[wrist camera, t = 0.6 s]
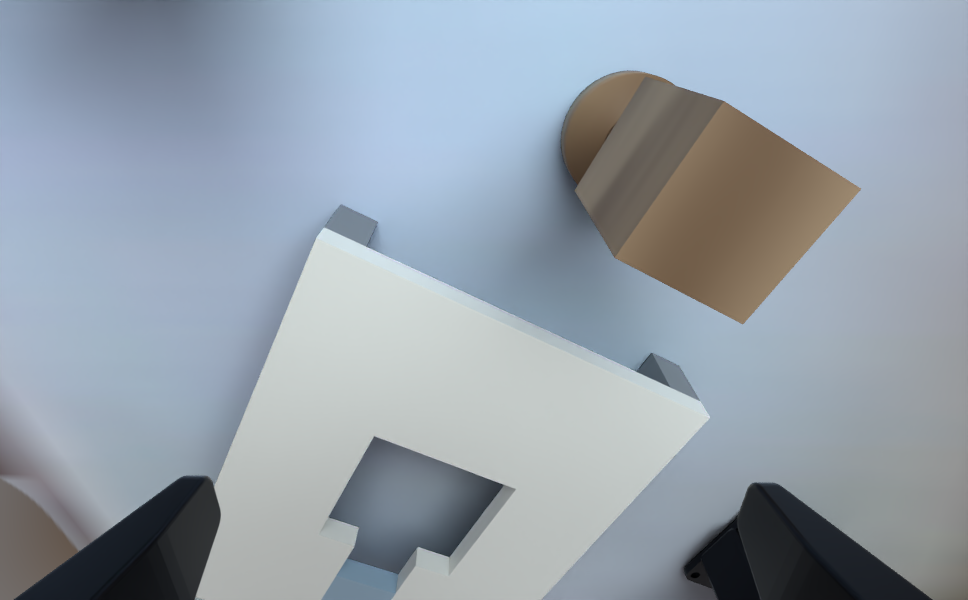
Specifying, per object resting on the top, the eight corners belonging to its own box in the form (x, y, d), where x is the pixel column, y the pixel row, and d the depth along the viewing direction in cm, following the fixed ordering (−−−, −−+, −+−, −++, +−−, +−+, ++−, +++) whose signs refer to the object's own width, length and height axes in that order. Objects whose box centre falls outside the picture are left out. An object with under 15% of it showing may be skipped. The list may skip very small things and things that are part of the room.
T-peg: (709, 110, 18) (895, 179, 10) (636, 216, 20) (745, 347, 12) (606, 45, 17) (721, 64, 9) (538, 163, 19) (584, 266, 11)
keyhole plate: (678, 365, 24) (710, 417, 20) (472, 609, 32) (472, 673, 29) (340, 204, 20) (316, 238, 17) (205, 527, 28) (171, 590, 25)
